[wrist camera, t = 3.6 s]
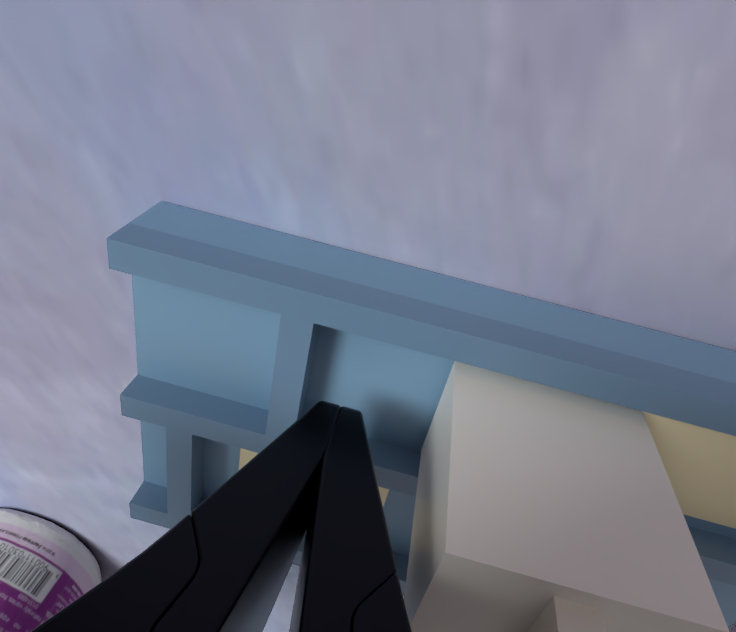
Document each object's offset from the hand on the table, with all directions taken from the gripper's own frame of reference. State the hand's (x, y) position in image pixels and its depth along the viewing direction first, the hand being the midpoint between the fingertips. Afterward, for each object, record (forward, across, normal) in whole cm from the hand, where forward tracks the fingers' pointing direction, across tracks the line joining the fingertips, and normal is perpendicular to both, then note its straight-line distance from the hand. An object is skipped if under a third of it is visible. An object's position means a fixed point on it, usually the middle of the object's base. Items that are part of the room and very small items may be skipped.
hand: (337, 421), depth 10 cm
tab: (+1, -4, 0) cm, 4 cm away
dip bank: (+2, -3, +2) cm, 4 cm away
